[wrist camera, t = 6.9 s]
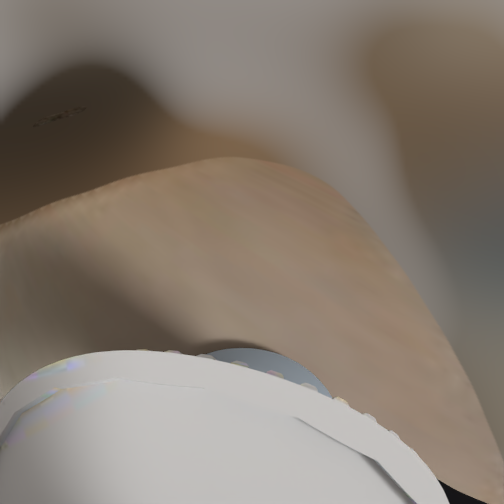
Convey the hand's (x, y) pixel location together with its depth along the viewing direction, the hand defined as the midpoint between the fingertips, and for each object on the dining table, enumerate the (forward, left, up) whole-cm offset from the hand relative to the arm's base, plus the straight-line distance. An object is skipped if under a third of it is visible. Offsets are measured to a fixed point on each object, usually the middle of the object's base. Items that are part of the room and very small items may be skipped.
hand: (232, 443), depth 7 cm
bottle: (+1, -1, -8) cm, 9 cm away
